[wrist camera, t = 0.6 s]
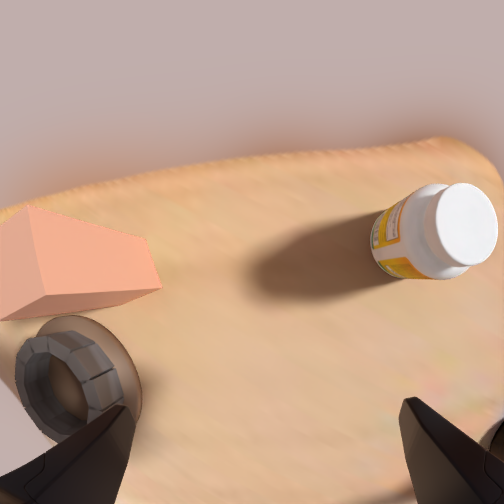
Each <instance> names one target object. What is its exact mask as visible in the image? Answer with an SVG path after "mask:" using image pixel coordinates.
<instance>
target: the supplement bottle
mask: <svg viewBox="0 0 504 504" xmlns="http://www.w3.org/2000/svg"><path fill="white" fill-rule="evenodd" d="M497 236H498V223H497V217H496V213H495V210H494V208H493V206H492V204H491V202H490V200H489V199H488V197H487V196H486V195H485V194H484V193H483V192H482V191H481V190H480V189H478V188H477V187H475V186H473V185H471V184H467V183H457V184H453V185H451V186H448V185H445V184H430V185H426V186H424V187H421V188H420V189H418V190H416V191H415V192H413V193H412V194H410V195H409V196H407V197H406V198H404V199H403V200H401V201H399V202H398V203H396V204H395V205H393V206H392V207H390V208H389V209H387V210H386V211H384V212H383V213H382V214H381V215H380V216H379V217H378V218H377V220H376V221H375V223H374V225H373V228H372V231H371V236H370V245H371V251H372V254H373V257H374V259H375V261H376V262H377V264H378V265H379V266H380V268H381V269H383V270H384V271H385V272H387V273H388V274H390V275H392V276H394V277H397V278H403V279H434V280H445V279H451V278H455V277H457V276H459V275H461V274H462V273H464V272H465V271H466V270H467V269H468V268H469V267H470V266H474V265H477V264H480V263H482V262H483V261H485V260H486V259H487V258H488V257H489V255H490V254H491V253H492V251H493V249H494V247H495V244H496V241H497Z"/></svg>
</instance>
